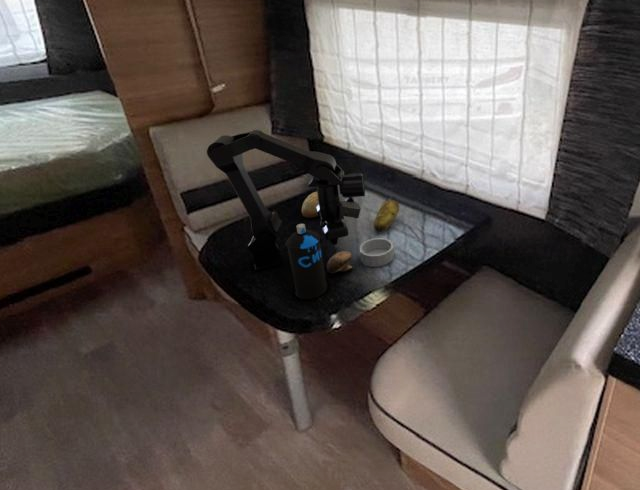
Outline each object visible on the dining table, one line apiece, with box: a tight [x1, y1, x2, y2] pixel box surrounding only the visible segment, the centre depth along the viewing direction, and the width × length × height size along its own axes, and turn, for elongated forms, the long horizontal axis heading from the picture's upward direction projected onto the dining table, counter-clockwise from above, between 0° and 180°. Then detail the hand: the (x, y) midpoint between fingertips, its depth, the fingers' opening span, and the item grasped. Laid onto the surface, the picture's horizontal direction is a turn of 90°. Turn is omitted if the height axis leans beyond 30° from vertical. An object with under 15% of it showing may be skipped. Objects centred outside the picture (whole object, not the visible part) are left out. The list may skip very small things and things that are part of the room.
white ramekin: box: [358, 237, 395, 268], centre depth 127 cm, size 10×10×4 cm
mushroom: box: [326, 250, 354, 275], centre depth 120 cm, size 8×8×6 cm
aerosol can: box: [285, 223, 328, 300], centre depth 109 cm, size 8×8×20 cm
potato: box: [373, 199, 400, 233], centre depth 144 cm, size 8×13×8 cm, turn 149°
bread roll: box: [301, 191, 342, 219], centre depth 152 cm, size 10×15×8 cm, turn 141°
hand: (334, 244), depth 126 cm, fingers closed
